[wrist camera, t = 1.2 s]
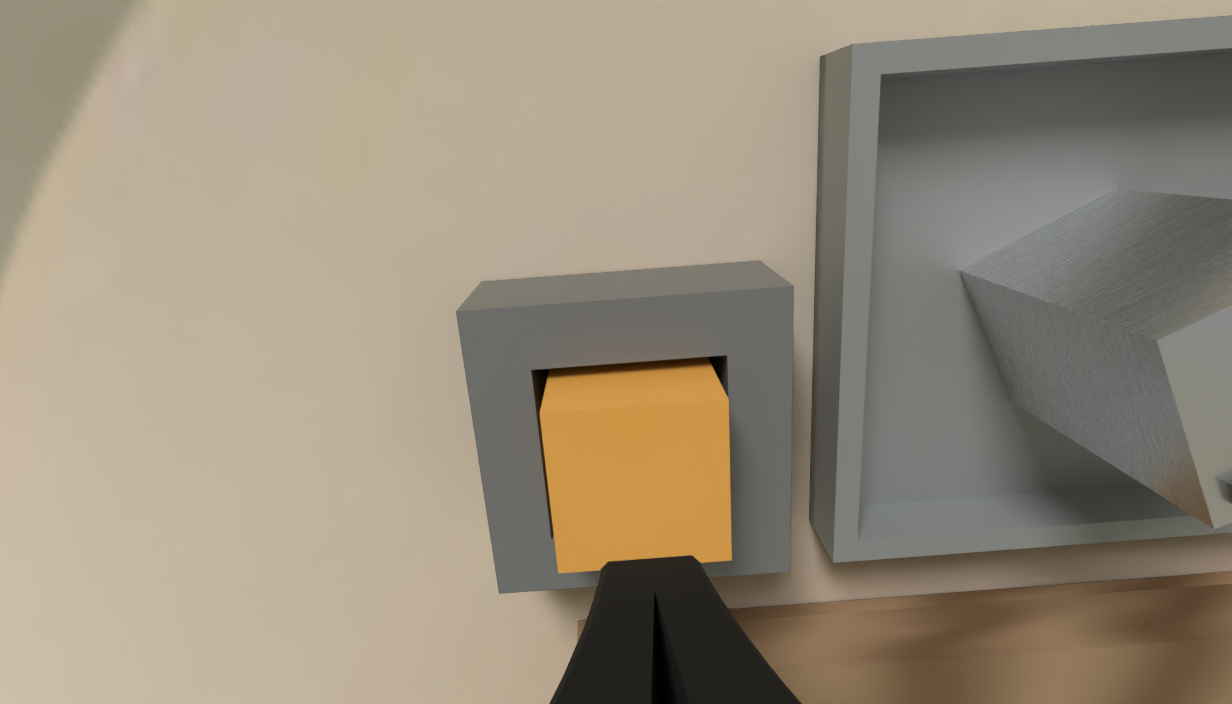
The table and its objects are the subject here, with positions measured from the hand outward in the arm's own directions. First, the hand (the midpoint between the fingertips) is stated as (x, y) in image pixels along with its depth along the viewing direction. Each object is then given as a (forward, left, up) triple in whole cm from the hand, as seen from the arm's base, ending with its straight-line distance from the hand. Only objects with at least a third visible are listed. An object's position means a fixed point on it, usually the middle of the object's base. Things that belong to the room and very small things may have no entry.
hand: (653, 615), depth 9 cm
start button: (0, 0, -7) cm, 7 cm away
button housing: (0, 0, -8) cm, 8 cm away
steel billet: (-11, -2, -8) cm, 14 cm away
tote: (-11, -2, -8) cm, 14 cm away
